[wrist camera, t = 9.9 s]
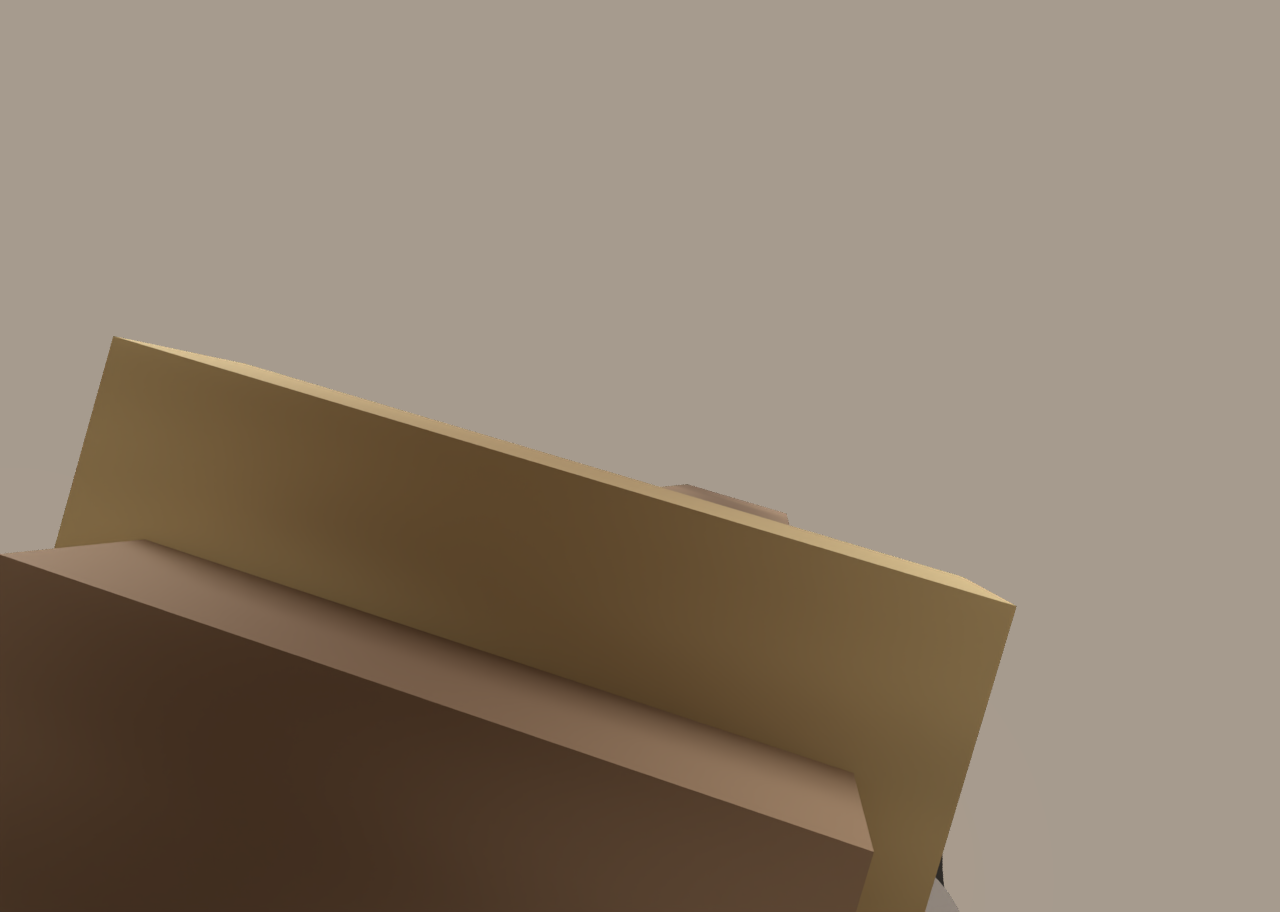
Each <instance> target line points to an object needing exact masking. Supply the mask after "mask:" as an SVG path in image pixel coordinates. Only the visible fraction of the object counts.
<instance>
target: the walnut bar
mask: <svg viewBox="0 0 1280 912" xmlns="http://www.w3.org/2000/svg"><path fill="white" fill-rule="evenodd" d="M1015 610H1016V606H1015V605H1013V604H1012V603H1010V602H1008V601H1006V600H1004V599H1002V598H1001V597H999V596H997V595H995V594H993V593H991V592H990V591H988V590H986V589H984V588H982V587H980V586H979V585H977V584H975V583H973V582H971V581H969V580H967V579H966V578H964V577H961V576H958V575H954V574H951V573H948V572H944V571H941V570H937V569H934V568H931V567H927V566H924V565H921V564H917V563H914V562H910V561H907V560H903V559H900V558H897V557H894V556H890V555H887V554H884V553H880V552H877V551H874V550H870V549H866V548H863V547H860V546H857V545H853V544H850V543H847V542H843V541H839V540H836V539H833V538H830V537H826V536H823V535H820V534H816V533H813V532H809V531H806V530H803V529H800V528H796V527H793V526H789V522H788V518H787V514H786V513H783V512H779V511H776V510H772V509H769V508H765V507H762V506H759V505H755V504H752V503H749V502H745V501H742V500H739V499H735V498H732V497H728V496H725V495H721V494H718V493H715V492H712V491H708V490H705V489H701V488H698V487H695V486H691V485H688V484H686V485H675V486H665V487H658V486H655V485H651V484H648V483H645V482H641V481H638V480H635V479H631V478H628V477H625V476H621V475H617V474H614V473H611V472H607V471H604V470H601V469H598V468H594V467H591V466H588V465H584V464H581V463H577V462H574V461H571V460H567V459H564V458H560V457H557V456H554V455H551V454H547V453H544V452H540V451H537V450H534V449H530V448H527V447H524V446H520V445H516V444H514V443H510V442H507V441H503V440H500V439H497V438H493V437H490V436H487V435H483V434H480V433H476V432H473V431H470V430H466V429H463V428H460V427H456V426H453V425H449V424H446V423H443V422H439V421H436V420H432V419H429V418H426V417H423V416H419V415H416V414H412V413H409V412H406V411H402V410H399V409H395V408H392V407H389V406H386V405H382V404H379V403H376V402H372V401H369V400H365V399H362V398H358V397H355V396H352V395H348V394H345V393H342V392H339V391H335V390H332V389H328V388H325V387H321V386H318V385H314V384H311V383H308V382H305V381H301V380H298V379H294V378H291V377H288V376H285V375H281V374H278V373H274V372H271V371H268V370H264V369H261V368H258V367H254V366H251V365H248V364H244V363H239V362H234V361H230V360H225V359H220V358H215V357H210V356H206V355H201V354H196V353H192V352H187V351H182V350H177V349H172V348H167V347H163V346H158V345H153V344H149V343H144V342H139V341H134V340H129V339H125V338H120V337H115V336H113V339H112V343H111V347H110V350H109V354H108V358H107V361H106V364H105V368H104V372H103V375H102V379H101V382H100V386H99V390H98V393H97V397H96V400H95V404H94V408H93V411H92V415H91V419H90V422H89V426H88V429H87V433H86V436H85V440H84V443H83V447H82V451H81V454H80V458H79V461H78V465H77V469H76V472H75V476H74V479H73V483H72V487H71V490H70V494H69V497H68V501H67V505H66V508H65V512H64V515H63V519H62V523H61V526H60V530H59V533H58V537H57V540H56V544H55V548H54V549H45V550H36V551H25V552H16V553H6V554H0V912H925V910H926V907H927V904H928V900H929V897H930V894H931V890H932V887H933V884H934V880H935V877H936V874H937V870H938V867H939V864H940V860H941V857H942V853H943V850H944V847H945V843H946V840H947V837H948V833H949V830H950V827H951V823H952V820H953V817H954V813H955V810H956V807H957V803H958V800H959V797H960V793H961V790H962V787H963V783H964V780H965V777H966V773H967V770H968V766H969V763H970V760H971V757H972V753H973V750H974V746H975V743H976V740H977V737H978V733H979V730H980V726H981V723H982V720H983V717H984V713H985V710H986V707H987V703H988V700H989V696H990V693H991V690H992V686H993V683H994V680H995V676H996V673H997V670H998V666H999V663H1000V660H1001V656H1002V653H1003V650H1004V646H1005V643H1006V640H1007V636H1008V633H1009V629H1010V626H1011V623H1012V620H1013V616H1014V613H1015Z"/></svg>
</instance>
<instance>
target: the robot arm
mask: <svg viewBox="0 0 1280 912" xmlns="http://www.w3.org/2000/svg"><path fill="white" fill-rule="evenodd" d="M925 912H959V910H958V908H957V906H956V904H955V903H954V901H953V899H952V898H951V896H950V894H949V893H948V892H947V890H946V889H945V888H944V882H943V871H942V857H941V860H940V864H939V867H938V870H937V874H936V877H935V880H934V884H933V887H932V890H931V894H930V897H929V900H928V904H927V907H926V910H925Z"/></svg>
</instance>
